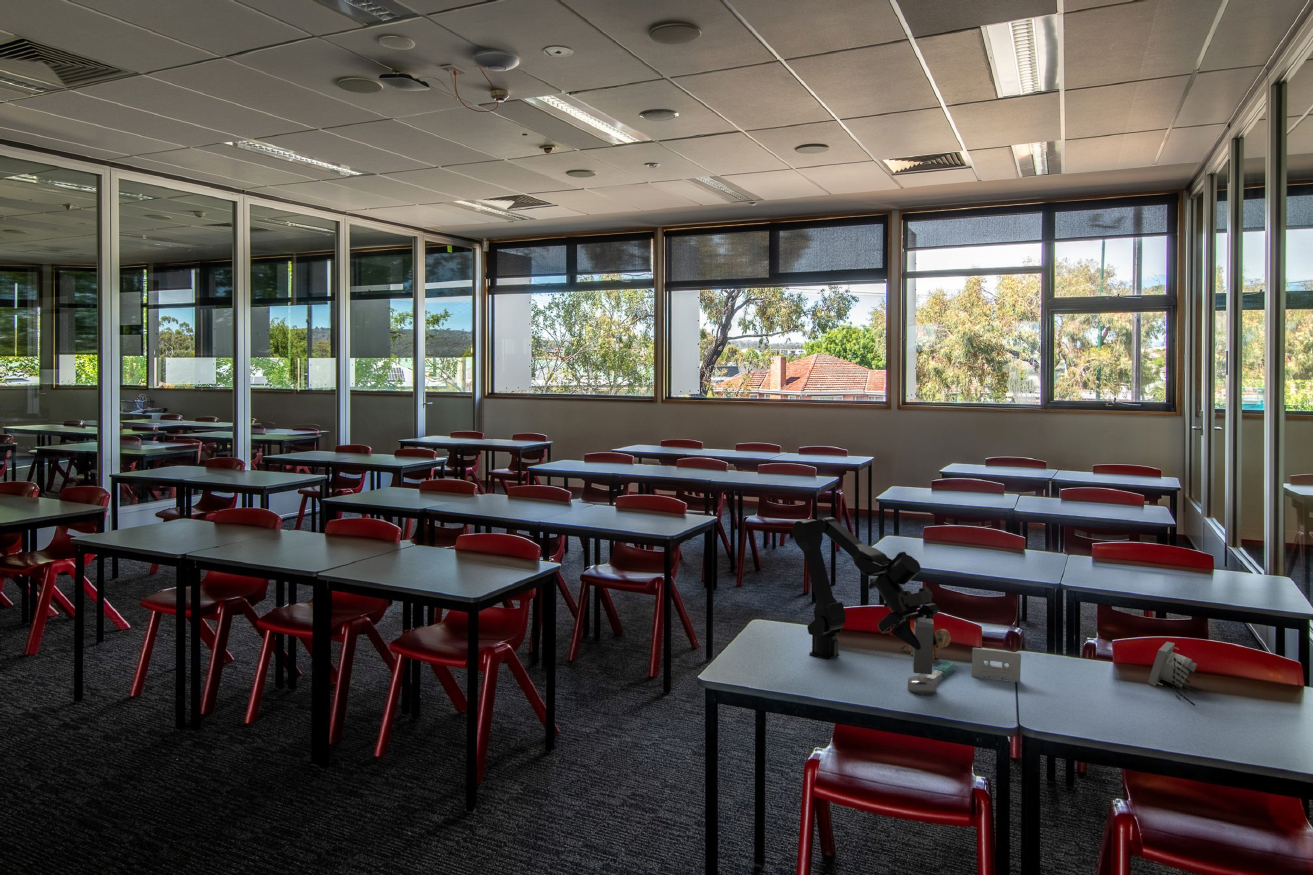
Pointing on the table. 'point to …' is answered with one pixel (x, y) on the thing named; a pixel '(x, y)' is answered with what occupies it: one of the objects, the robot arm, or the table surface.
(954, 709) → the table surface
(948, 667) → the ratchet
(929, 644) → the charcoal square pillar
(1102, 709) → the table surface
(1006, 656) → the cassette
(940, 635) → the lion figurine
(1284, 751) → the table surface
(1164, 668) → the grey pronged block
